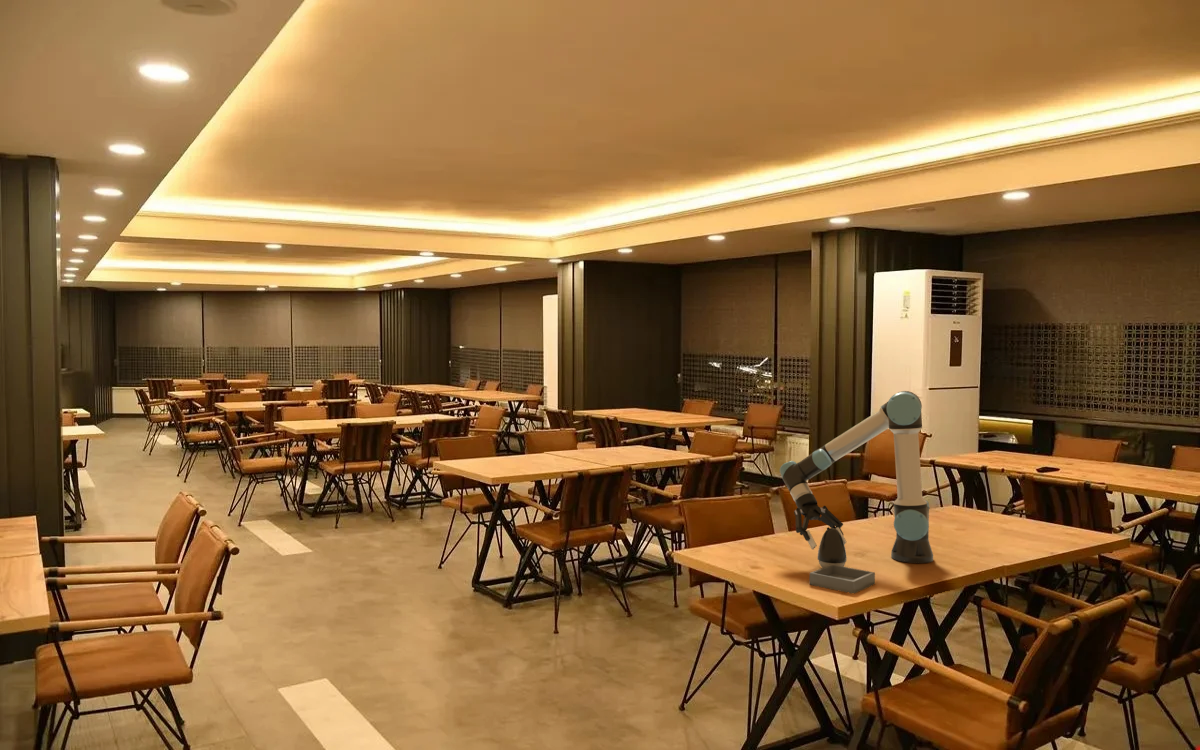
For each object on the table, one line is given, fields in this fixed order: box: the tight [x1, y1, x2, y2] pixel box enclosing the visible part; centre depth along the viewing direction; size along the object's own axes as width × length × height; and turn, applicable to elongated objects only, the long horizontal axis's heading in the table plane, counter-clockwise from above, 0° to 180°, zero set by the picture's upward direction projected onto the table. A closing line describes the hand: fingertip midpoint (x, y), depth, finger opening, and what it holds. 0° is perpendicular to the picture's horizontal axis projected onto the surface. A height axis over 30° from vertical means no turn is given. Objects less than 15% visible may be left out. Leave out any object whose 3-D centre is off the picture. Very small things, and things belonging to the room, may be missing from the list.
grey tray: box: [808, 564, 876, 594], centre depth 290 cm, size 16×16×4 cm
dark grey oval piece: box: [817, 526, 848, 568], centre depth 309 cm, size 10×10×15 cm
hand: (829, 545), depth 310 cm, fingers open, 13 cm apart
